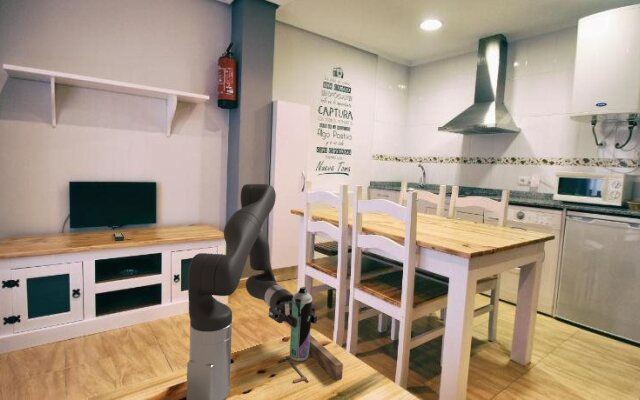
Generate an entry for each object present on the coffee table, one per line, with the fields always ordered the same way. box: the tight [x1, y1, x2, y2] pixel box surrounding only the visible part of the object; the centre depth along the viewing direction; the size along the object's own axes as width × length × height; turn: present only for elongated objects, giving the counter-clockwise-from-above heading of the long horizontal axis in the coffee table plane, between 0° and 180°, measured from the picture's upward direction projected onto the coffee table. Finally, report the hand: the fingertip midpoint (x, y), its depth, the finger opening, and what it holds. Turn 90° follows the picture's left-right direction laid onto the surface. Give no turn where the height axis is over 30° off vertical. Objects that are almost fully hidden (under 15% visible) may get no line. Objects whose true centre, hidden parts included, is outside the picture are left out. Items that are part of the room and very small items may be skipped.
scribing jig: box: [276, 334, 344, 384], centre depth 95 cm, size 18×12×4 cm, turn 31°
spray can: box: [289, 286, 313, 362], centre depth 99 cm, size 6×6×20 cm
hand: (305, 322), depth 96 cm, fingers closed on spray can, 5 cm apart
